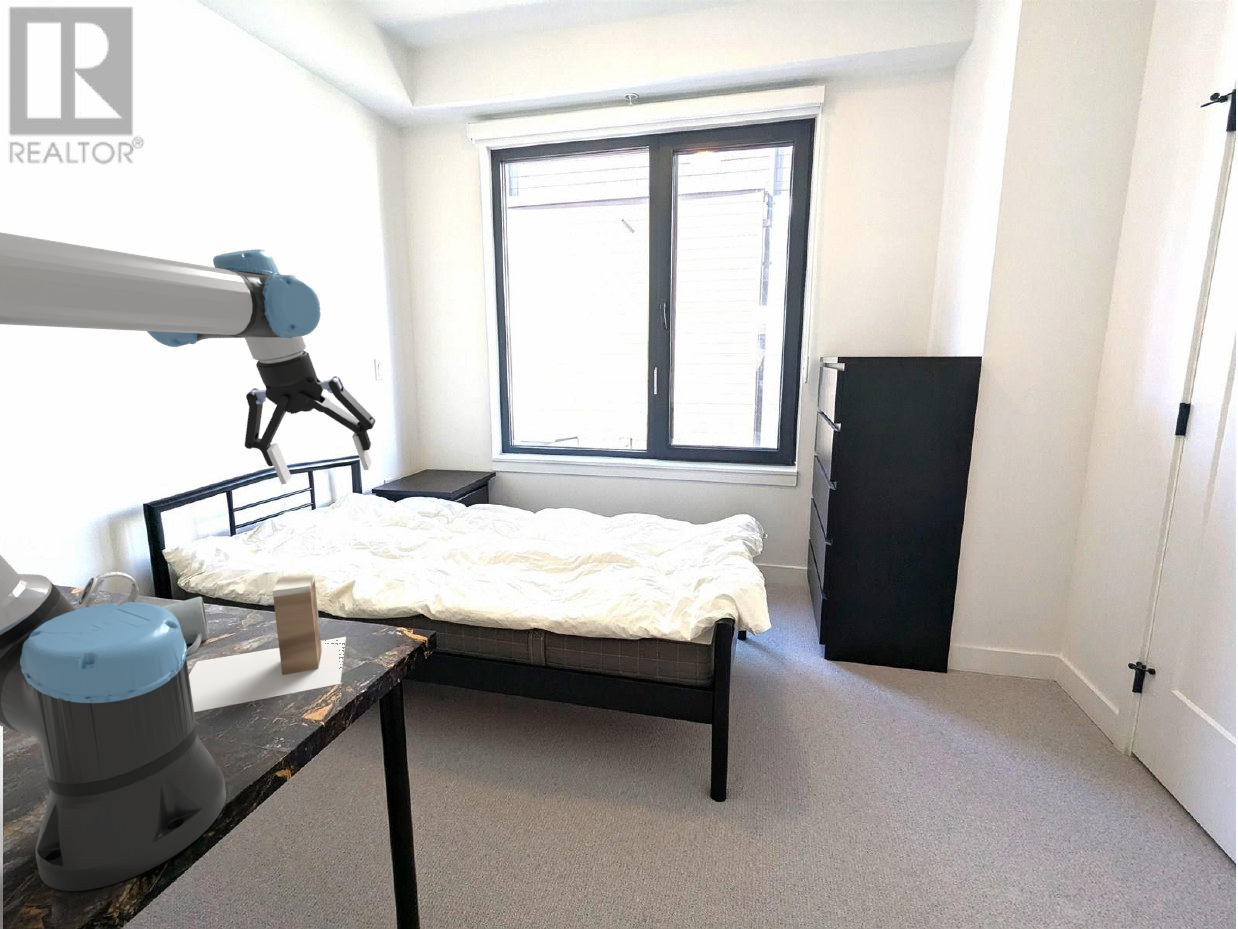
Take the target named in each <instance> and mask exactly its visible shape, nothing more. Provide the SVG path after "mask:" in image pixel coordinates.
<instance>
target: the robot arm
mask: <svg viewBox="0 0 1238 929" xmlns="http://www.w3.org/2000/svg"><path fill="white" fill-rule="evenodd" d="M212 264H213V265H214V267H212V266H207V265H200V264H195V263H190V262H189V263H188V262H183V261H177V260H172V259H171V260H170V259H164V258H160V257H159V258H158V257H153V256H147V255H141V254H133V253H127V252H123V251H121V252H120V251H117V250H110V249H104V248H99V247H98V248H97V247H91V246H85V245H80V244H73V243H67V242H61V241H54V240H48V239H43V238H42V239H41V238H37V237H30V236H25V235H18V234H12V233H6V232H2V231H1V232H0V325H10V326H11V325H12V326H28V327H29V326H30V327H31V326H32V327H50V328H51V327H53V328H54V327H55V328H75V329H93V330H94V329H95V330H116V331H134V332H135V331H137V332H141V331H142V332H147V333H148V335H150V336H151V337H152V338H153V340H156V341H157V342H158V343H160V344H162V345H164V346H167V347H170V348H178V347H182V346H186V345H194V344H196V343H198V342H199V341H202V340H208V339H243V338H244V339H245V342H246V344H247V347H248V350H249V353H250V354H251V358H252V359H253V360H255V361H256V364H255V366H256V368H257V370H258V374H259V376H260V378H261V381H262V383H263V384H264V386H265V389H261V390H260V389H259V388H256V387H254V388H252V389H251V390H250V391H249V392H247V394H246V395H245V398H246V401H247V405H248V415H247V421H246V429H245V430H246V431H245V437H244V439H245V440H244V447H245V449H248V450H252V449H256V450H259V451H260V452H261V455H262V456H263V458H264V461H265V463H266V465H267V466H268V467H273V468H274V470H275V472H276V474H277V475H276V476H277V477H278V479H279V482H280V484H281V485H287V484H288V482H289V481H290V479H291V477H292V475H291V472H290V470H289V468H288V467H289V466H287V463H286V460H285V458H284V456H283V454H282V451H281V449H280V446H279V444H278V443H277V442H276V443H272V442H273V439H274V438H275V435H276V433H277V431H278V428H279V427H280V425H281V422H283V421H282V420H283V418H284V416H285V415H286V412H287V413H290V415H294V414H298V413H300V412H304V413H305V412H311V411H313V410H314V409H315V410H316V411H318V412H319V413H323V414H325V415H326V416H328V417H329V418H330V419H333V420H334V421H336V422H337V423H339V424H340V425H342V426H344V427H345V428H347V429H349V430H350V431H352V432H353V434H352V437H351V438H352V440H353V443H354V446H355V449H356V452H357V454H358V457H359V460H360V462H361V465H362V469H363V471H369V470H370V467H371V465H372V460H371V458H370V454H369V451H370V448H371V447H372V443H371V439H370V437H369V434H368V431H369V430H372V429H373V427H374V425H375V424H376V419H375V417H373V416H372V415H371V413H370V412H368V410H366V408H364V407H363V405H362V404H361V403H360V402H358V400H357V399H356V398H355V397H354V396H353V395H352V394H351V393H350V392H349V391H348V390H347V389H346V388H345V386H344V385H343V382H342V381H341V378H340V377H339V376H337V375H334V376H333V377H332V378H331V379H327V380H324V381H321V380H320V378H318V377H317V372H316V370H315V366H314V364H313V361H312V359H311V356H310V353H309V352H307V351H306V350H305V349H306V348H307V347H306V342H305V341H304V336H308V335H309V334H311V333H312V332H313V331H314V330H315V329H316V328H317V327H318V325H319V323H320V319H321V307H320V305H321V302H320V299H319V297H318V294H317V293H316V291H315V289H314V288H313V286H312V285H311V284H310V283H309V282H308V281H306V280H305V279H303V278H302V277H299V276H297V275H293V274H280V272H279V269H278V268H277V265H276V262H275V260H274V259H273V256H272V255H271V253H269V252H268V251H267V250H265V249H262V248H261V249H259V248H257V249H247V250H245V249H244V250H239V251H232V252H227V253H222V254H217V255H215V256H214V257H213V259H212ZM324 390H326V391H327V392H328V393H329V394H333V396H334V397H335V399H337V401H338V402H340V404H341V405H342V406H343V407H344V408H346V410H347V411H348V412H347V411H346V410H345V409H343V408H342V407H341V406H338V405H336V404H335V403H334V402H332V401H331V400H330V399H329V398H328V397H326V396H325V395H323V392H324ZM266 400H268V401H270V402H272V403H273V404H274V405H276V406H275V408H274V411H273V412H272V415H271V417H270V420H269V422H268V424H267V426H266V428H265V430H264V432H263V435H262V437H261V438H260V429H261V423H262V422H261V421H262V414H263V407H264V406H263V405H264V403H265V402H266ZM187 645H188V644H187ZM187 645H186V642H185V640H184V637H183V634H182V631H181V628H180V624H179V622H178V620H177V618H176V617H175V616H174V615H173V614H172V613H171V612H170V611H168V610H167V609H165V608H162V606H159V605H156V604H152V603H145V602H136V601H135V602H127V603H125V602H124V603H121V604H117V603H115V602H112V603H104V604H103V603H101V604H97V605H92V606H91V605H89V607H86V608H78V609H76V608H75V607H74V606H73V604H72V603H71V602H70V601H69V600H68V599H67V598H66V597H65V595H64V594H63V593H62V592H61V591H60V590H59V588H57V587H56V586H55V584H54V583H53V582H52V581H51V580H50V579H49V578H48V577H47V576H44V575H42V574H41V575H40V574H35V573H34V574H31V573H18V572H17V571H16V569H14V567H13V566H11V565H10V564H9V562H8V561H7V560H6V559H5V558H4V557H3V556H2V555H1V554H0V727H4V728H6V729H10V730H12V731H15V732H19V733H21V734H24V735H28V736H30V737H34V738H36V740H37V741H38V743H39V746H40V750H41V754H42V755H41V756H42V761H43V764H44V770H45V775H46V779H47V783H48V784H47V785H48V788H49V794H48V797H47V798H48V799H47V802H46V805H45V809H44V810H45V811H44V814H43V818H42V821H41V825H40V830H39V833H38V837H37V841H36V845H35V859H36V860H35V861H36V864H37V869H38V874H39V878H40V879H41V881H42V883H44V884H45V885H46V886H48V887H50V888H52V889H55V890H59V891H65V892H66V891H67V892H79V891H88V890H95V889H96V890H97V889H99V888H104V887H109V886H111V885H115V884H118V883H121V882H123V881H127V880H129V879H132V878H134V877H136V876H139V875H141V874H144V873H145V872H147V871H150V870H151V869H154V868H156V867H157V866H159V865H161V864H163V863H165V862H167V861H168V860H170V859H172V858H173V857H174V856H176V855H178V854H179V853H181V852H182V851H183V850H185V849H187V848H188V847H189V846H191V845H192V844H193V843H194V842H195V841H196V840H197V839H199V838H200V837H201V836H202V835H203V834H204V833H205V832H206V831H207V830H208V829H209V828H210V827H211V826H212V825H213V823H214V822H215V821H216V819H217V818H218V817H219V815H221V812H222V810H223V809H224V805H225V803H226V800H227V791H226V783H225V776H224V773H223V771H222V769H221V767H220V766H219V765H218V763H217V762H216V761H215V760H216V759H214V758H213V756H212V755H211V753H210V751H208V750H209V749H207V748H206V746H205V745H204V743H203V742H202V741H201V739H200V738H199V736H198V729H197V723H196V717H195V712H194V708H193V701H192V694H191V687H190V680H189V674H190V673H189V667H188V662H187V661H188V660H187V656H186V654H187V649H188V647H187Z"/></svg>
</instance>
